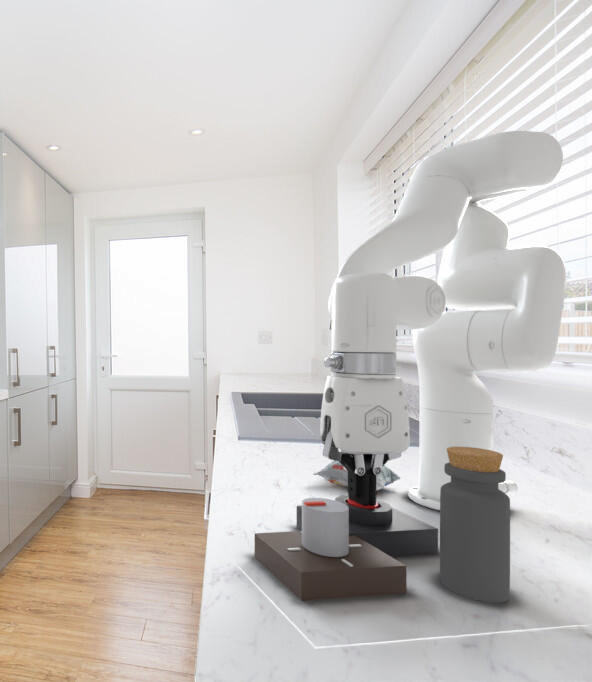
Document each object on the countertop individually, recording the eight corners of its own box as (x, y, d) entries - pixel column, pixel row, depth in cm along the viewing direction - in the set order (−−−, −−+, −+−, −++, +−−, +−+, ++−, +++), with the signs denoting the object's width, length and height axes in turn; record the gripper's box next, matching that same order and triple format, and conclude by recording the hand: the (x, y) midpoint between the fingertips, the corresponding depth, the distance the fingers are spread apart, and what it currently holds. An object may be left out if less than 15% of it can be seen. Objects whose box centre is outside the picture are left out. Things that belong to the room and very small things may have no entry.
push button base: (378, 523, 70) (379, 489, 70) (438, 554, 60) (438, 514, 60) (296, 527, 68) (296, 493, 68) (343, 559, 58) (343, 519, 58)
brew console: (343, 552, 60) (343, 527, 60) (406, 593, 51) (406, 564, 50) (254, 557, 59) (254, 531, 59) (301, 601, 49) (301, 570, 49)
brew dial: (330, 538, 57) (331, 494, 57) (358, 556, 53) (358, 508, 53) (293, 539, 57) (293, 495, 57) (317, 558, 52) (318, 510, 52)
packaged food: (384, 500, 80) (384, 471, 80) (312, 484, 89) (312, 457, 89) (401, 490, 85) (401, 463, 85) (331, 476, 94) (331, 451, 94)
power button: (365, 509, 66) (365, 496, 66) (385, 519, 62) (385, 505, 62) (341, 510, 66) (341, 497, 66) (359, 520, 62) (360, 507, 62)
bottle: (426, 576, 54) (427, 445, 54) (473, 574, 55) (474, 444, 55) (473, 605, 48) (473, 458, 48) (525, 602, 49) (526, 457, 49)
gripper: (329, 367, 59) (328, 514, 59) (436, 367, 61) (435, 510, 61) (294, 364, 67) (293, 495, 67) (391, 364, 68) (390, 491, 69)
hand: (361, 501), depth 64 cm, fingers closed
